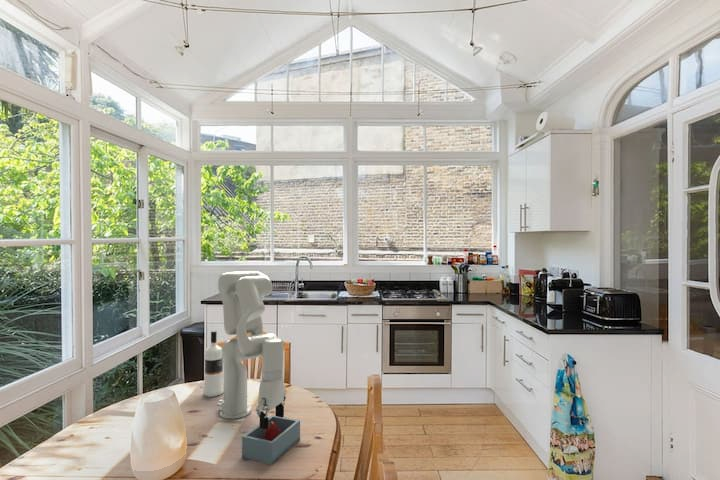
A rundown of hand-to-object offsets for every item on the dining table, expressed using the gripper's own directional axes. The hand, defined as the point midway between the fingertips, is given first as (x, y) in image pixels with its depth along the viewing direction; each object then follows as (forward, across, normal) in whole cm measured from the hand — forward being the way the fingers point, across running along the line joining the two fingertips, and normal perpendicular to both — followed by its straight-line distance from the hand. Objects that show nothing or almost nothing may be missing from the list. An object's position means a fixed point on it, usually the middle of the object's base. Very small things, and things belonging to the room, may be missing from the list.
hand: (272, 422), depth 141 cm
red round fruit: (+8, 0, 0) cm, 8 cm away
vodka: (+10, -33, -55) cm, 64 cm away
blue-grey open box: (+9, 0, 0) cm, 9 cm away
